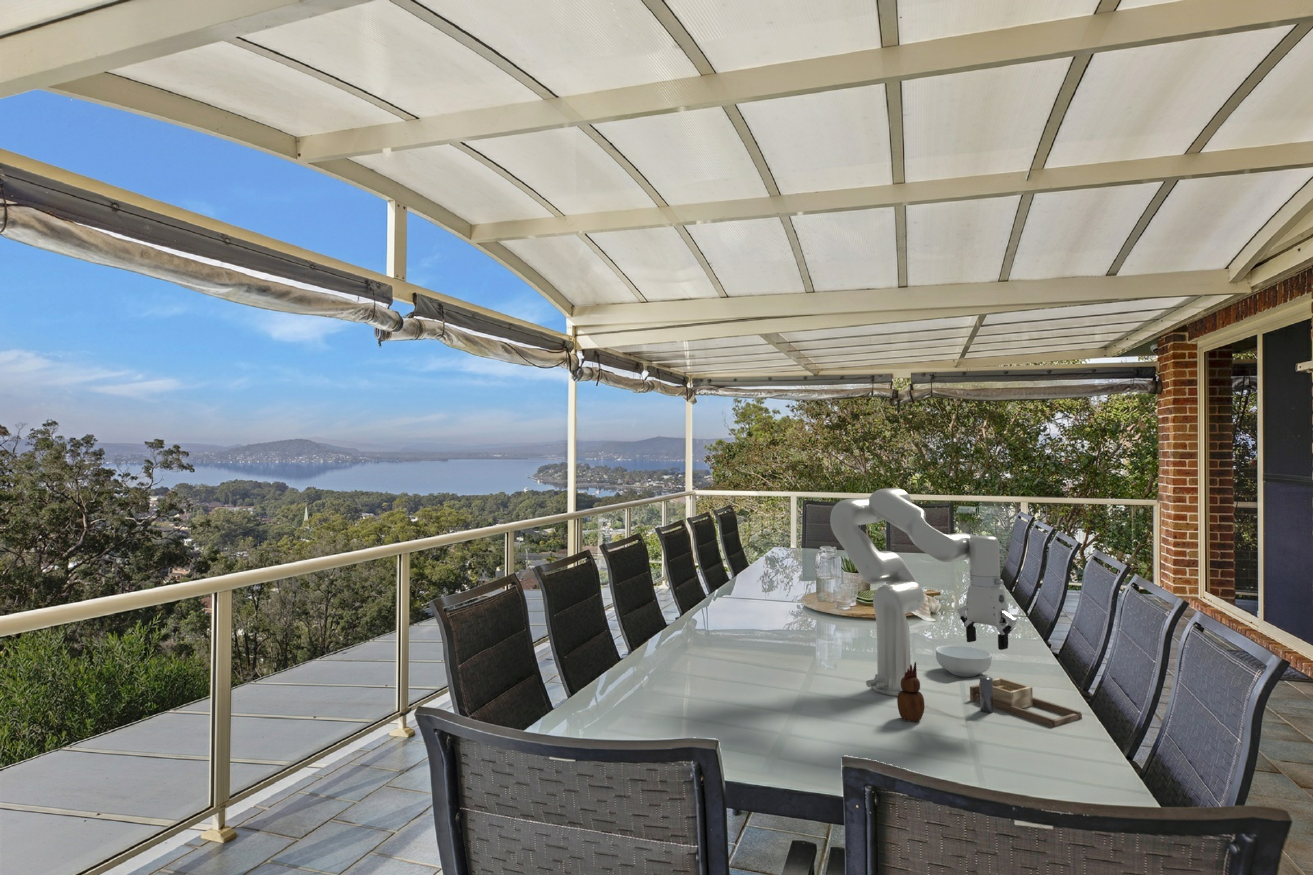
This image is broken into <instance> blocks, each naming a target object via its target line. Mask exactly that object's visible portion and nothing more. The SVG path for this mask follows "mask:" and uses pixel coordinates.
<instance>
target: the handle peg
mask: <svg viewBox="0 0 1313 875" xmlns="http://www.w3.org/2000/svg"><path fill="white" fill-rule="evenodd" d="M979 683H980V703H979V705H980V706H979V710H980V712H981V713H984V714H993V713H994V708H993V677H990V676H985V675H984V676H979Z"/></svg>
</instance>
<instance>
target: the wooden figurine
mask: <svg viewBox="0 0 1313 875" xmlns="http://www.w3.org/2000/svg"><path fill="white" fill-rule="evenodd" d="M917 672H918V671H917V662H916V661H915V662H914V664H913V665H912V664H911V665H910V671H909V669H907V672H905V676H904V677H903V678H902V679H901V688H902V691H900V692H899V693H898V696H896V697H897V698H896V701H897V702H896V703H897V709H898V714H899V715H900V716H899V717H900V718H901V719H902V720H904V721H907V722H918V721H920V720H922V717H923V715H924V713H925V698H924V695H923V694H922V692H921V691H920V689H921V682H920V680H919V679H918V675H917V674H918V673H917Z"/></svg>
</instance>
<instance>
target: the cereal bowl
mask: <svg viewBox="0 0 1313 875" xmlns="http://www.w3.org/2000/svg"><path fill="white" fill-rule="evenodd" d="M992 656H993V655H992V653H991V652H990V651H987V650H985V649H982V648H977V647H973V646H967V645H965V646H964V645H941V646H937V647H936V648H935V659H936V661H937V663H938V665H939V666H940V667H942V668H943V669H944V670H946V671H949V673H951V675H954V676H958V677H966V678H967V677H968V678H971V677H972V678H973V677H976V676H977V675H979V674H983V673H986V672H987V671H988V670H989V669H990V667H991V665H992V660H993V659H992Z"/></svg>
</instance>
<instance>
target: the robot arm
mask: <svg viewBox="0 0 1313 875" xmlns="http://www.w3.org/2000/svg"><path fill="white" fill-rule="evenodd" d="M926 515H927V513H926V511H925V509H923V508H922V507H919V506H917V505H916V504H914V503H912V498H911V496H910V494H909V493H908V492H907V491H905V490H904V489H902V488H899V487H896V488H895V487H893V488H892V487H891V488H890V487H889V488H880V489H877V490H875V491H874V492H873V493H871V495H870V496H869V497H857V498H855V497H853V498H846V499H843V500H840V501H838V502H837V503H836V504H835V505H834V506H833V507H832V510H831V513H830V515H829V516H830V517H829V519H830V520H829V523H830V524H829V525H830V528H831V531H832V533H833V535H834V537H835V538H836V540H837V541H838V542H839V544H840V545H841V547H842V548H843V549H844V551H845V553H846V554H847V557H849V560H850V561H851V563H852V564H853V566H854V568H855V569H856V571H857V572H858V573H859V575H860V577H861V579H863V581H864V582H865V583H867V584H869V585H878V584H880V585H881V584H883V583H885V584H883V585H881V586H879V587H878V588H877V589H876V590H875V592H874V594H873V597H872V604H873V605H872V606H873V610H874V616H875V622H876V625H875V626H876V653H877V655H876V656H877V657H876V658H877V659H876V660H877V661H876V662H877V665H876V666H877V667H876V668H877V674H875V675H874V678H873V679H869V680H868V679H867V680H866V682H865V684H866V687H868V688H871V687H872V689H873V691H875V692H878V693H880V694H882V695H883V694H884V695H887V696H893V697H895V696H896V697H897V696H898V693H899V692H900V691H902V688H901V679H902V678H903V677H904V676H905V672H907V669H909V671H910V665H912V664H911V630H910V625H909V622H908V621H909V620H908V618H907V616H906V614H909V613H912V612H915V611H918V610H919V609H920V608H922V606H923V605H924V602H925V594H924V591H923V588H922V586H921V585H920V583H919V581H918V580H917V579H916V577H915V575H914V574H913V573H912V571H911V569H910V568H909V566H908V565H907V563H906V562H905V561H904V559H903V557H901V556H900V555H899V554H897V553H896V552H893V551H890V550H882V551H880V550H879V549H878V548H877V547H876V546H875V544H874V542H873V541H872V539H871V538H870V537H869V535H867V534H866V533H865V532H864V531H863V530H862V529H860V527H859V526H863V525H870V524H876V523H878V522H883V521H886V522H888V523H889V524H891V525H893V526H894V527H896V528H898V529H899V530H901V531H902V532H904V533H905V534H907V536H908V538H909V539H910V541H911V542H912V543H913V544H914V545H915V546H916V547H917V548H918V550H919V549H920V550H921V551H922V552H924V553H926V554H927V555H929V556H931V558H933V559H936V560H937V561H940V562H943V563H953V562H959V561H966V560H968V561H969V584H970V585H969V584H968V587H967V593H966V601H965V604H966V605H964V606H962V607H959V608H958V609H957V613H958V615H959V617H960V618H959V619H960V621H961V622H962V623H963V626H964V628H965V633H966V634H965V636H966V637H965V638H966V642H967V643H973V642H976V641H977V628H976V626H975V625H976V624H980V625H981V624H982V625H986V626H990V627H994V628H996V630H997V631H998V632H999V633H998V634H997V647H998V650H1000V651H1003V650H1007V649H1008V648H1009V634H1011V632H1012V631H1014V629H1015V626H1016V624H1017V622H1018V620H1017V618H1015V617H1014V616H1012V615H1011V614H1010V613H1009V612H1008V611H1009V610H1008V604H1007V603H1008V602H1007V598H1006V594H1005V590H1004V587H1001V586H1004V582H1005V581H1004V580H1003V579H1001V563H1000V561H1001V560H1000V558H1001V557H1000V541H999V539H998V538H997V537H996V536H993V535H975V534H971V533H965V532H957V533H948V534H945V533H943V532H941V531H939V530H938V529H936V528H935V527H933V526H931V525H930V524H929V523H927V521H926V517H927V516H926Z"/></svg>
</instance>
